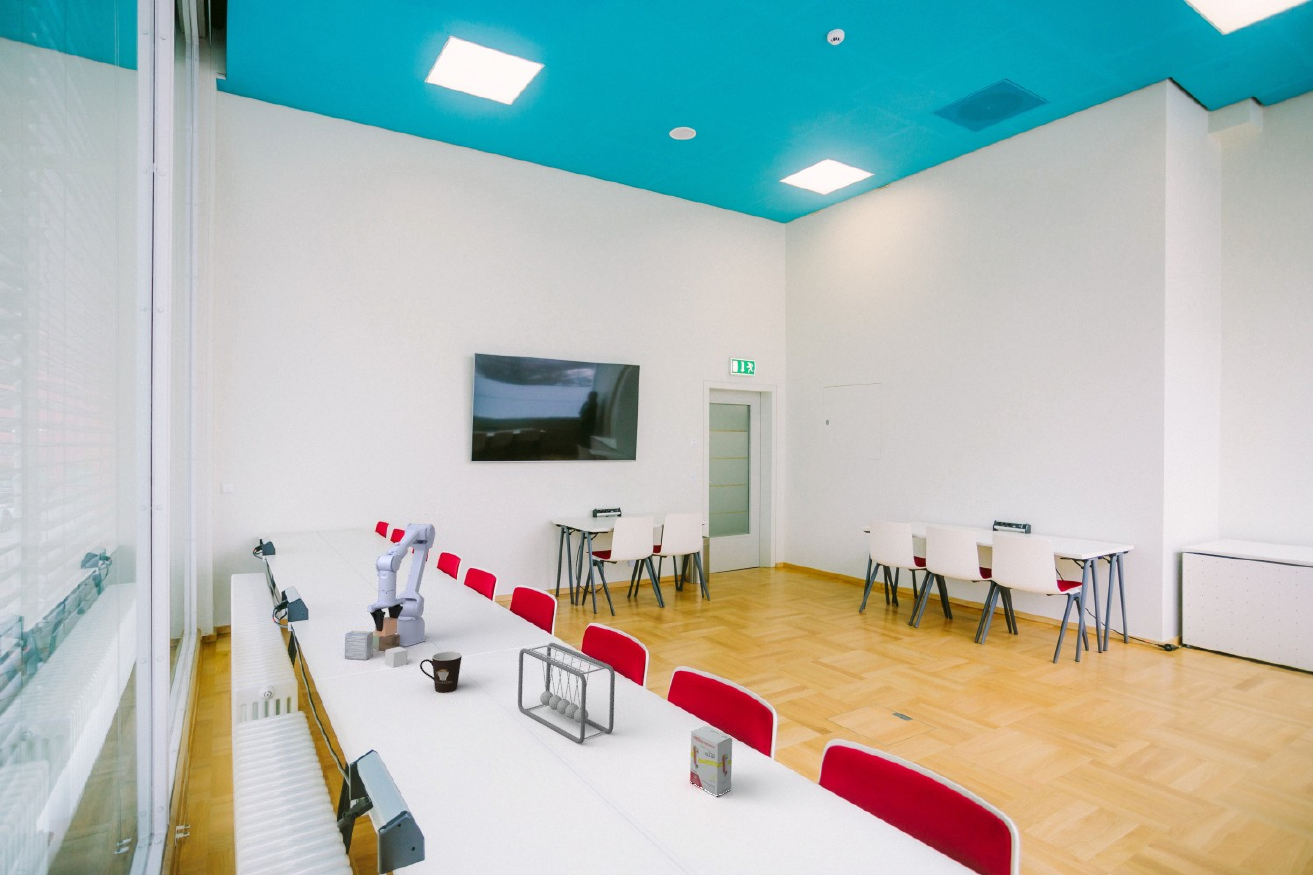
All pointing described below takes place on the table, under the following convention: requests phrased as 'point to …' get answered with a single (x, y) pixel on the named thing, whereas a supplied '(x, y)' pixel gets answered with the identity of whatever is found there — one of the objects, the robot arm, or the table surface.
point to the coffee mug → (445, 671)
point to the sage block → (375, 641)
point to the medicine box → (358, 645)
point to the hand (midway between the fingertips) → (386, 628)
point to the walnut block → (389, 642)
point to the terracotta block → (388, 627)
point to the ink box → (711, 760)
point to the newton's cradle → (556, 701)
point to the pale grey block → (396, 657)
